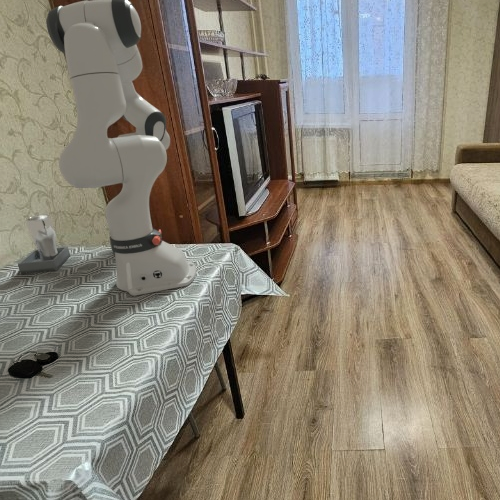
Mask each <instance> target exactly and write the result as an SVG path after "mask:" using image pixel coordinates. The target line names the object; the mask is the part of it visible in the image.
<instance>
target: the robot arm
mask: <svg viewBox="0 0 500 500" xmlns="http://www.w3.org/2000/svg"><path fill="white" fill-rule="evenodd" d="M141 23H142V22H141V20H140V16H139V13H138V11H137V10H136V8H135V6H134V5H133V3H132V2H131V1H129V0H82V1H77V2H73V3H70V4H67V5H64V6H63V5H59V6H56V7H54V8H52V9H51V10H49V11H48V13H47V15H46V28H47V33H48V35H49V38H50V41H51V42H52V43H53V45H54V47H56V49H57V50H58V51H60V52H61V53H62V54H64V55H65V62H66V67H67V72H68V75H69V80H70V84H71V87H72V88H71V89H72V91H73V96H74V101H75V105H76V106H75V107H76V113H77V123H76V128H75V131H74V134H73V136H72V138H71V140H70V141H69V143H67V145H66V146H65V147H64V148H63V149H62V152H61V153H60V156H59V158H58V159H59V161H58V166H59V171H60V173H61V175H62V177H63V179H64V180H65V181H66V182H67V183H68V184H69V186H72V187H74V188H76V189H96V188H101V187H107V186H112V185H117V184H122V188H121V191H120V192H119V193H118V194H117V195H116V196H115V197H113V198H112V199H111V200H110V201H109V202H108V203H107V205H106V207H105V210H104V215H105V218H106V219H105V220H106V223H107V228H108V231H109V234H110V235H109V243H110V248H111V252H112V254H113V256H114V258H115V259H114V260H115V267H116V282H115V285H116V287H117V289H119V290H121V291H124V292H128V294H129V295H130V296H140V295H145V294H150V293H151V294H152V293H154V292H155V293H156V292H160V291H166V290H171V289H176V288H182V287H186V286H189V285H190V284H192V282H194V279H195V278H196V275H197V268H196V264H195V263H194V262H192V261H188V260H187V258H186V256H185V253H184V252H183V250H182V249H180V248H179V247H177V246H174V245H172V244H170V243H168V242H166V241H164V240H163V237H162V230H161V229H158V230H157V229H155V228H153V225H152V219H151V212H150V197H151V192H152V188H153V186H154V184H155V182H156V180H157V179H158V177H159V176H160V175H161V174H162V173H163V172H164V170H165V168H166V165H167V163H168V161H167V160H168V155H167V150H168V149H169V147H170V145H171V137H170V135H169V133H168V131H167V118H166V115H164V113H163V112H161V110H160V109H158V108H157V107H155V106H154V105H152V104H151V103H149V102H148V101H147V100H146V99H145V98H144V97H142V95H140V94H139V93H138V92H137V91H136V89H135V86H134V83H133V81H135V80H136V79H137V78H138V77H139V76H140V74H141V72H142V71H143V68H144V67H143V60H142V56H141V53H140V50H139V47H138V46H137V44H138V43H139V42H140V40H141V39H142V24H141ZM121 118H122V119H123V120H124V121H126V122H128V123H130V124H131V125H132V126H133V127H135V132H130V133H124V134H118V136H117V137H113V138H111V137H108V128H109V127H110V126H111V125H113V124H115V123H116V122H117V121H118V120H120V119H121Z"/></svg>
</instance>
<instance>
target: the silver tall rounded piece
mask: <svg viewBox="0 0 500 500" xmlns="http://www.w3.org/2000/svg"><path fill="white" fill-rule="evenodd" d="M26 222H27V228H28V231H29V234H30V235H29V236H30V237H31V239H32V242H33V243H34V245H35V247H36V250H38V251H39V254H40V259H41V261H46V260H53V259H54V258H55V257H56V256H57V255H58V254H59V252H58V250H57V248H58V246H57V236H56V235H57V234H56V230H55V225H54V224H53V220H52V218H51V216H50V214H39V215H33V216H29V217H28V218H26Z"/></svg>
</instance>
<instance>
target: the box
mask: <svg viewBox="0 0 500 500" xmlns="http://www.w3.org/2000/svg"><path fill="white" fill-rule="evenodd" d="M57 250H58V252H59V254H58V255H57V256H56V257H55V258H54V259H53V260H46V261H41V259H40V254H39V251H38V249H33V251H31V252H30V253H29V254H27V255H26V256H25V257H24V258H23V259H22V260H20V261H19V262H18V263H17V267H18V269H19V272H20V275H27V274H37V273H44V272H45V273H47V272H56V271H58V270H59V269H60V268H61V267H62V266H63V265H64V264H65V262H66V261H68V259H69V258H70V257H71V253H70V250H69V247H68V246H59V247H58V246H57Z"/></svg>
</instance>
